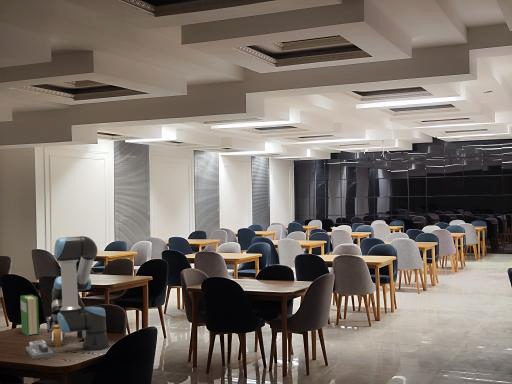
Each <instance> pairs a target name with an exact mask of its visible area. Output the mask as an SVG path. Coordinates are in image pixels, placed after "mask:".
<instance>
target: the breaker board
mask: <svg viewBox="0 0 512 384" xmlns="http://www.w3.org/2000/svg"><path fill="white" fill-rule="evenodd" d="M28 343H29V346H25V351H26V352H27V353H28V355H29V356H30V357H31V358H32V359H33V360H38V359H43V358H49V357H55V352H54V351H53V350H52V349H51V347H49V346H48V345H47V342H46V341H45V340H43V339H41V340H35V341H29V342H28Z"/></svg>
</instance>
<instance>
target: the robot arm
mask: <svg viewBox="0 0 512 384" xmlns="http://www.w3.org/2000/svg"><path fill="white" fill-rule="evenodd" d="M54 243H55V244H54V250H53V253H54V254H53V256H54V259H56V260H57V263H59V264H60V276H57V277H56V278H55V279H54V283H53V287H52V290H51V315H50V316H49V317H48V316H46V323H47V324H46V330H47V333H48V334H49V337H50V338H51V343H52V344H54V332H53V325H57V324H59V328H60V330H61V342H62V343H63V339H64V337H65V334H67V333H68V334H69V333H70V334H71V333H74V332H76V333H78V331H86V335H85V338H83V339H84V340H83V343H82V349H83V350H87V351H97V350H105V349H108V348H109V347H110V345H111V342H110V340H109V337H108V334H107V324H106V323H107V321H106V320H107V319H106V316H107V315H106V309H105V308H104V307H100V306H85V307H84V308H83V310H82V307H81V306H80V305H79V295H78V294H79V293H78V292H79V291H86V290H90V289H91V287H92V280H91V278H90V274H91V271H92V268H93V263H94V260H96V257H97V256H98V247H97V244H96V243H95V241H94V240H93V239H92V238H90V237H88V236H83V235H81V236H66V237H65V236H64V237H58V238H57V239H56V240H55V242H54ZM79 257H80V258H79ZM78 262H79V264H78V267H77V263H78ZM51 320H52V324H51V325H50V323H51V322H50V321H51ZM56 323H57V324H56Z"/></svg>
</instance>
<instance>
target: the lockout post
mask: <svg viewBox="0 0 512 384" xmlns="http://www.w3.org/2000/svg"><path fill="white" fill-rule="evenodd" d="M53 332H54V343H53V346H54V347H61V346H62V345H63V344H62V343H63V341H62V342H61V330H60V328H59V324H58V323H57V324H55V325H53Z"/></svg>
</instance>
